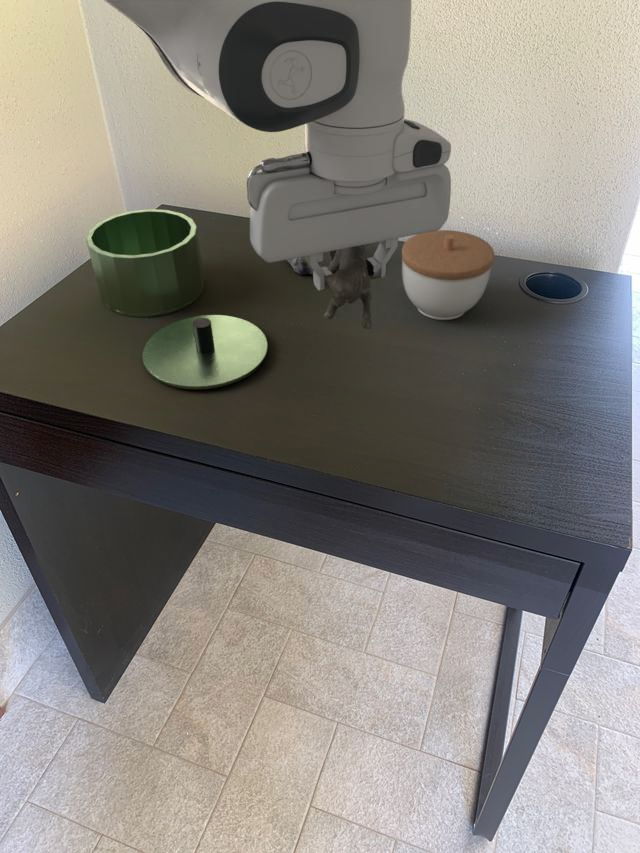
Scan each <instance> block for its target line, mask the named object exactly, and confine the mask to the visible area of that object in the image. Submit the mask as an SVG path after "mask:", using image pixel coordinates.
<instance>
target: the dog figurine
mask: <svg viewBox="0 0 640 853" xmlns="http://www.w3.org/2000/svg"><path fill="white" fill-rule="evenodd" d="M335 251H336V252H335V254H334V257H333V258H332V262H331V263H330V265H329V267H328V269H329V271H331V272H332V274H330V275H328V276H326V281H327V283H328V285H329V287H330V289H329V293H330V295H331V296H332V298H331V300H330V302H329V303H328V305H327V307H326V312H324V314H323V318H324V319H326V320H332V319H333V318H334V316H335V314H336V312H337V311H338V308H341V307H343V306H344V305H345V303H346V302H347V303H348V304H354V303H355V302H356V301H358V300H359V299H360V300H361V302H362V305H363V310H362V322H361V327H362V328H363V329H366V330H371V329H372V325H373V324H372V311H371V301H372V300H373V297H372V293H371V285H372V284H371V279H370V277H369V275H368V271H367V265H366V259H365V257H364V253H365V245H360V246H355V247H349V248H344V249H339V250H335ZM337 270H338V271H337ZM326 290H327V289H325V290H324V291H326Z"/></svg>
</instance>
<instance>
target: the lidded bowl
mask: <svg viewBox="0 0 640 853" xmlns="http://www.w3.org/2000/svg"><path fill="white" fill-rule="evenodd" d="M401 259H402V260H401V276H402V285H403V288H404V291H405V294H406V296H407V298H408V300H409V301H410V302H411V304H412V305H413V306H414V307H416V310H418V312H419V313H420V314H421V315H423V316H425V317H427V318H430V319H433V320H437V321H439V320H440V321H449V320H450V321H451V320H455V319H458V318H460V317H462V316H463V315H465V313H466V312H467V311H469V310H471V309H472V308H473V307H475V306H476V304H478V302H479V301H480V300H481V298H482V297H483V295H484V293H485V291H486V289H487V286H488V283H489V281H490V278H491V273H492V272H491V271H492V266H493V264H494V260H495V251H494V248H493V247H492V246H491V245H490V244H489V242H488V241H486V240H485V239H483V238H481V237H479V236H477V235H475V234H472V233H469V232H463V231H457V230H451V229H449V230H447V229H439V230H437V231H432V232H427V233H422V234H416V235H412V236H410V238H408V239H407V240H406V241H405V242H404V243H403V245H402V248H401Z"/></svg>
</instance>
